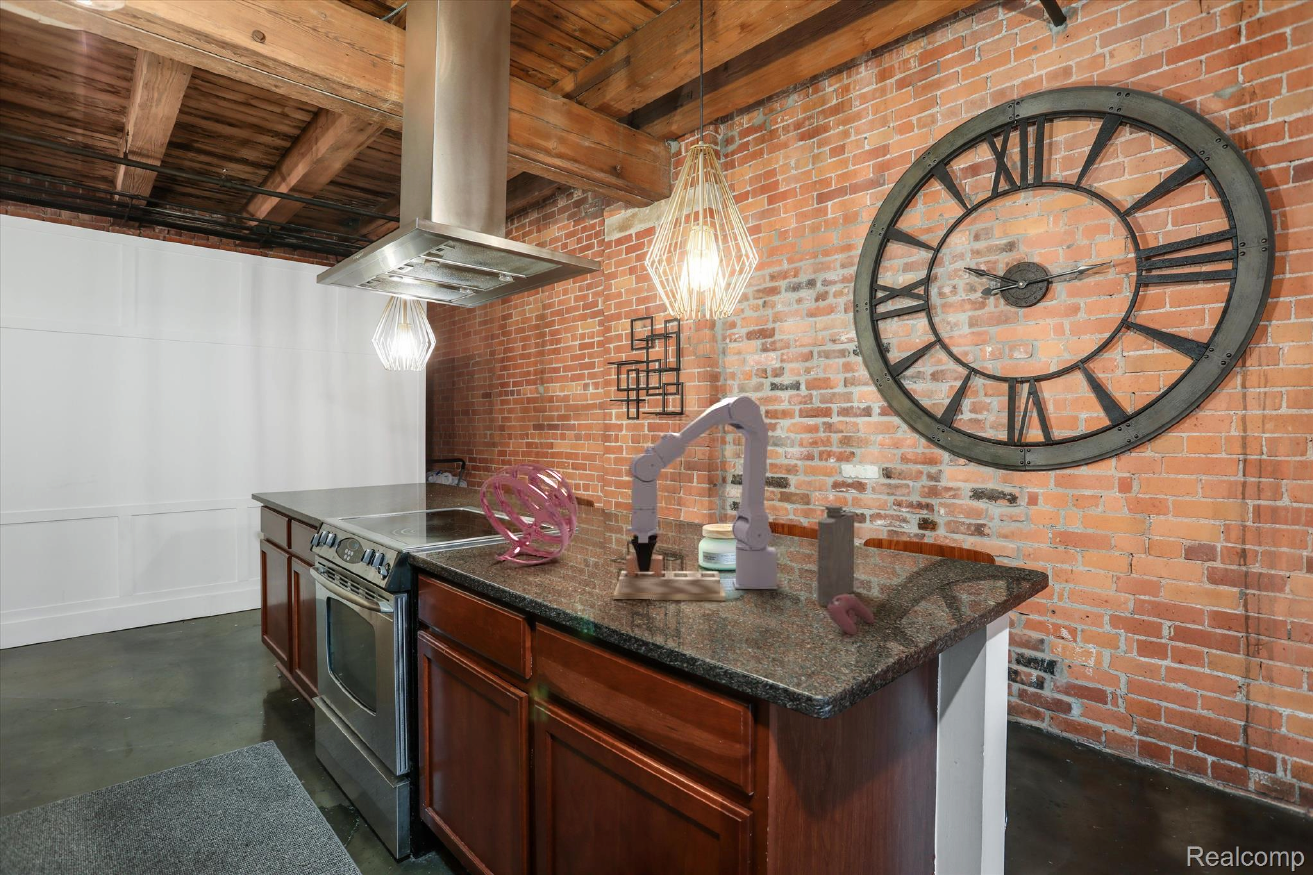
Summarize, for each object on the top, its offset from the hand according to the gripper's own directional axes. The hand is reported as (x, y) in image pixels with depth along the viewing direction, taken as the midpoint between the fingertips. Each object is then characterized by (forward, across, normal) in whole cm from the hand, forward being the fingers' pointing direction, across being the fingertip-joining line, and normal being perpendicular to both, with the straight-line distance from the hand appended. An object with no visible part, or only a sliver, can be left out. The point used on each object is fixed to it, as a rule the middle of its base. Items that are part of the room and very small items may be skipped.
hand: (644, 568), depth 142 cm
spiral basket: (+6, -32, -32) cm, 46 cm away
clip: (+4, 0, 0) cm, 4 cm away
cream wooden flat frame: (+5, 0, +6) cm, 8 cm away
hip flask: (+6, +2, +42) cm, 42 cm away
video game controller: (+6, +22, +40) cm, 46 cm away
